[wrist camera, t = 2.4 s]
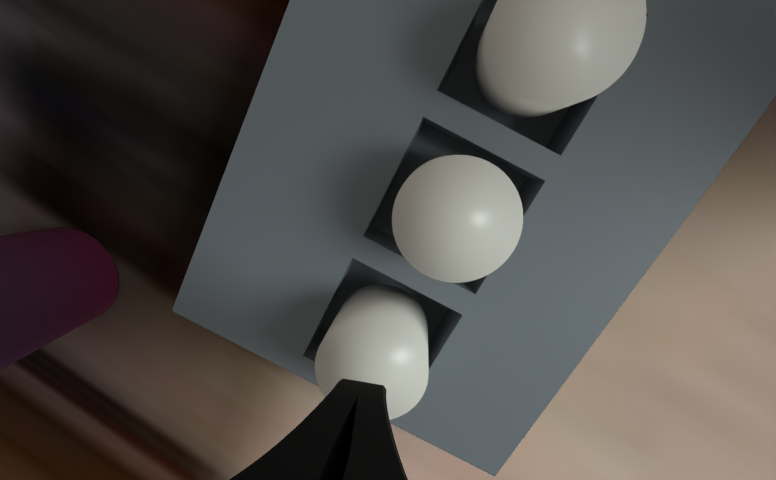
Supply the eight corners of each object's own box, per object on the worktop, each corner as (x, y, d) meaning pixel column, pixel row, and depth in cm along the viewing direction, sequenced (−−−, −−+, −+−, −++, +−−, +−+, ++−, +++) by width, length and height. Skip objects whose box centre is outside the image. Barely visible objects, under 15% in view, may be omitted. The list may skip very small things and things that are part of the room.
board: (841, -85, 13) (961, -155, 10) (484, 427, 19) (494, 476, 16) (447, -299, 13) (454, -434, 10) (211, 287, 19) (171, 310, 16)
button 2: (613, 30, 13) (679, -15, 9) (548, 137, 14) (589, 130, 10) (511, -24, 13) (542, -89, 9) (454, 87, 14) (463, 64, 10)
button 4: (444, 311, 16) (449, 352, 12) (401, 383, 16) (395, 439, 13) (361, 268, 15) (344, 297, 12) (322, 342, 16) (297, 389, 13)
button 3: (520, 185, 14) (549, 193, 11) (468, 272, 15) (480, 304, 12) (428, 137, 14) (430, 130, 11) (382, 227, 15) (370, 246, 12)
